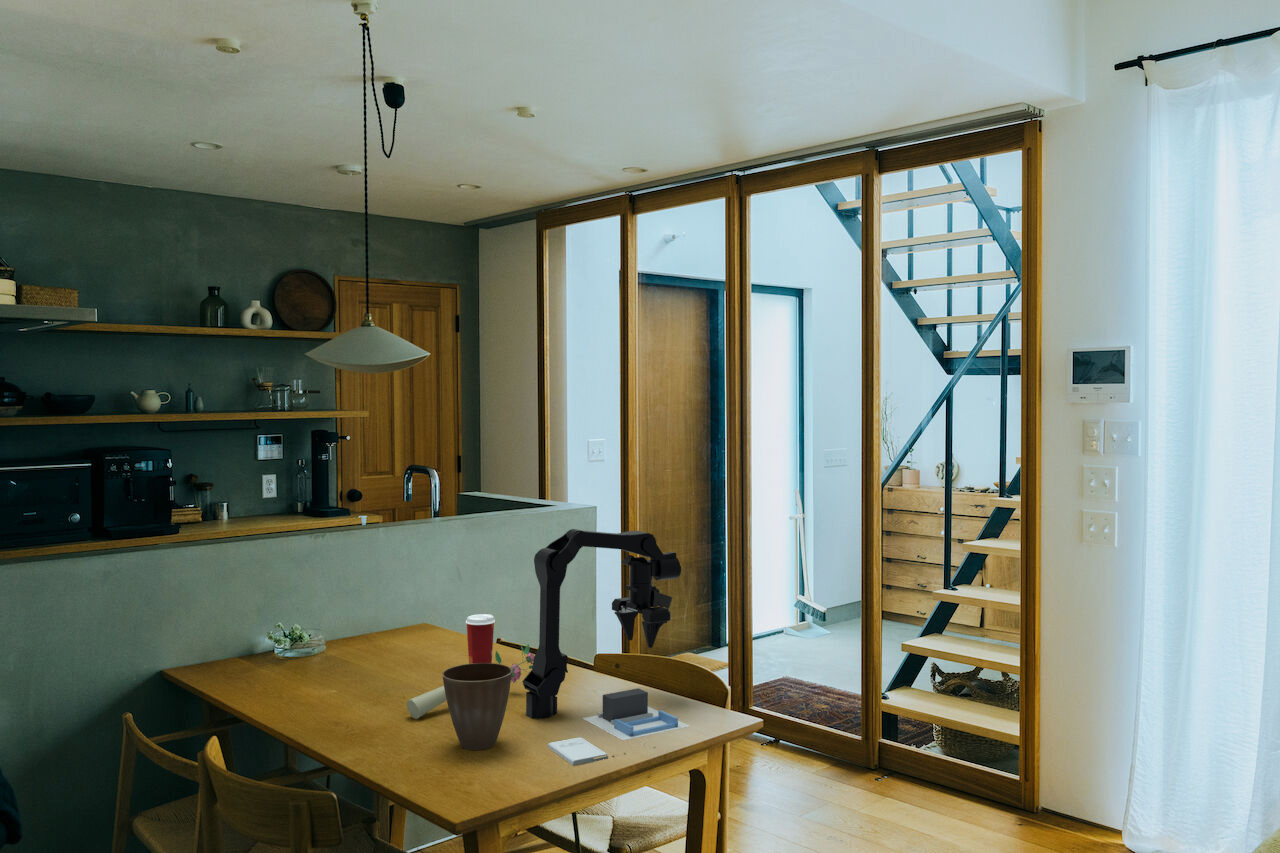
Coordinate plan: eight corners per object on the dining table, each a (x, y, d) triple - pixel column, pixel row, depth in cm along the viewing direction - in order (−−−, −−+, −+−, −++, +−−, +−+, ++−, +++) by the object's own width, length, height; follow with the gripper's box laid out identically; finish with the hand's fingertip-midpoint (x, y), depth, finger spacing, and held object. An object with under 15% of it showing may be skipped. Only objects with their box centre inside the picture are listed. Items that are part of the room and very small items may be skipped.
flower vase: (413, 745, 235) (523, 684, 259) (438, 742, 226) (550, 679, 250) (395, 698, 235) (507, 642, 260) (420, 694, 226) (534, 636, 251)
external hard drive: (572, 768, 201) (547, 749, 212) (608, 761, 205) (582, 743, 216) (572, 760, 201) (547, 742, 212) (608, 753, 205) (582, 736, 216)
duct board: (622, 743, 214) (622, 731, 214) (582, 721, 229) (582, 709, 229) (689, 729, 224) (690, 717, 224) (646, 709, 239) (646, 697, 239)
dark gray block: (611, 722, 226) (611, 699, 226) (602, 718, 229) (602, 694, 229) (647, 715, 231) (647, 692, 231) (638, 711, 235) (638, 688, 234)
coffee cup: (501, 669, 275) (501, 615, 275) (481, 675, 268) (481, 621, 268) (478, 664, 280) (478, 612, 279) (458, 671, 273) (458, 617, 272)
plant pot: (450, 760, 203) (450, 684, 203) (435, 738, 217) (435, 666, 217) (520, 751, 209) (520, 676, 209) (501, 729, 223) (501, 660, 223)
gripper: (688, 584, 242) (688, 647, 242) (647, 573, 258) (646, 633, 258) (651, 588, 236) (650, 653, 236) (610, 577, 251) (610, 638, 252)
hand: (640, 643), depth 246 cm, fingers open, 9 cm apart
